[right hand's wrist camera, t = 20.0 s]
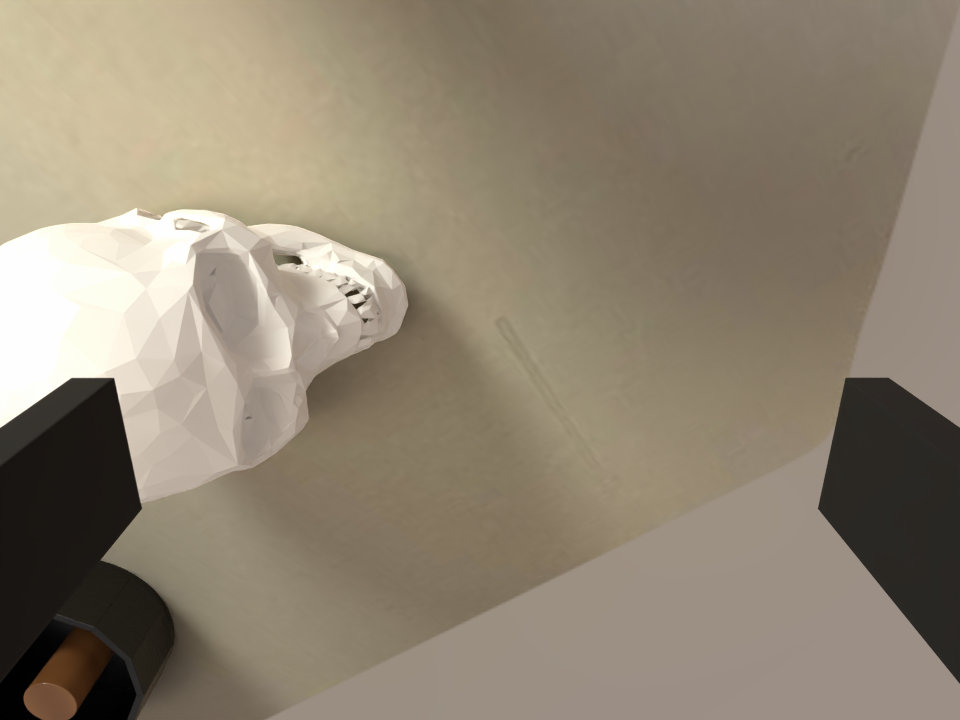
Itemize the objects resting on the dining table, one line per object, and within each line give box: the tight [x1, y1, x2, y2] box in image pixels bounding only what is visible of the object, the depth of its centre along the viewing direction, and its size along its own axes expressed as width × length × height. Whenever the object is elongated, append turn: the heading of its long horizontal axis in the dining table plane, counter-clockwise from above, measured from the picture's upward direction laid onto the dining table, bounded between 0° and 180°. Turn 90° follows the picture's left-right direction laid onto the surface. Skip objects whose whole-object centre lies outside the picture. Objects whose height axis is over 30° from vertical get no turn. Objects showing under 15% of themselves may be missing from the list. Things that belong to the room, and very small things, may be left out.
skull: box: [0, 208, 408, 503], centre depth 34 cm, size 13×22×16 cm, turn 100°
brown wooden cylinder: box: [24, 626, 115, 720], centre depth 47 cm, size 3×3×6 cm
